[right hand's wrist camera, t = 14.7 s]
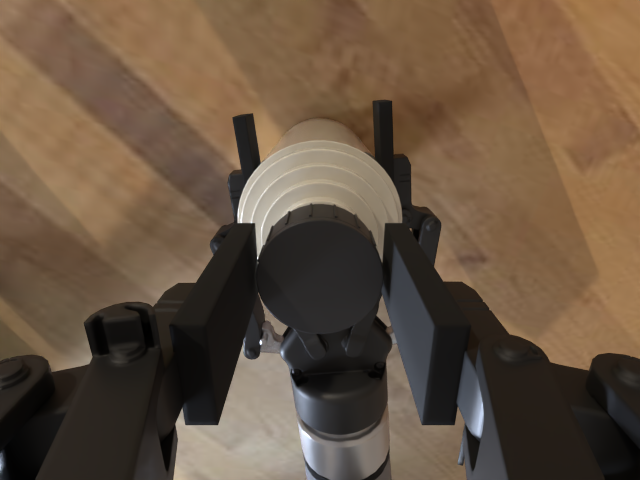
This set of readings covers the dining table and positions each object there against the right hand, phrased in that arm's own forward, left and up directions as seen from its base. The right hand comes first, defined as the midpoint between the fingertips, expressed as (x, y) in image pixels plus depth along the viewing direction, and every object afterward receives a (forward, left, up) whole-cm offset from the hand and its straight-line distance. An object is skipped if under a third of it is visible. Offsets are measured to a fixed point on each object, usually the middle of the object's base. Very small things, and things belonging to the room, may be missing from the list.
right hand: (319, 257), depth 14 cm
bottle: (0, 0, -18) cm, 18 cm away
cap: (0, 0, +2) cm, 2 cm away
